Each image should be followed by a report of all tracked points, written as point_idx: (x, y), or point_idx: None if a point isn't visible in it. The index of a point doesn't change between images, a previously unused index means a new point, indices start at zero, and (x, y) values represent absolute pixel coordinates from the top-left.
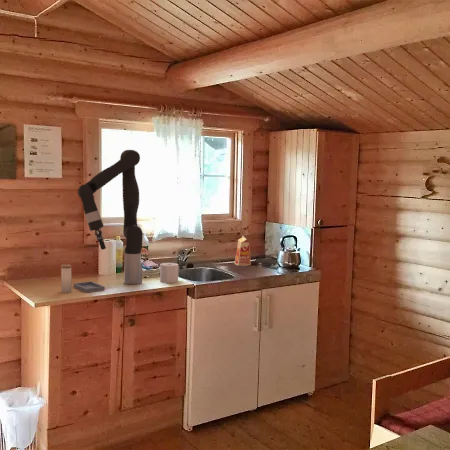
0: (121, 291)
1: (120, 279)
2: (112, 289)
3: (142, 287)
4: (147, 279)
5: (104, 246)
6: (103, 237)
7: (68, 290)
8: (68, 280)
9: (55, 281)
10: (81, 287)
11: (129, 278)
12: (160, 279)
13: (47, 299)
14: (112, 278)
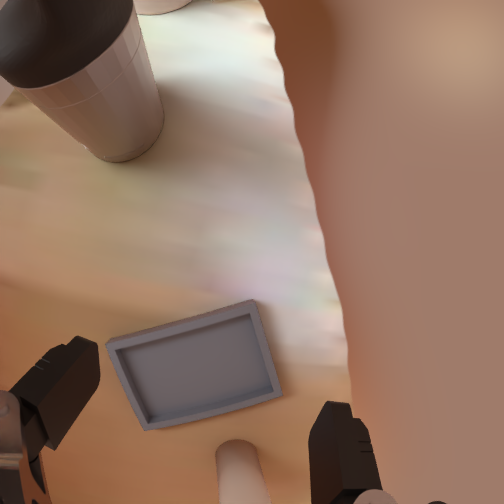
0: (303, 220)
1: (36, 170)
2: (246, 255)
3: (244, 101)
4: None
5: (351, 426)
6: (21, 485)
7: (257, 454)
8: (264, 482)
9: (42, 450)
10: (230, 409)
11: (148, 132)
12: (156, 8)
13: None
14: (8, 205)
